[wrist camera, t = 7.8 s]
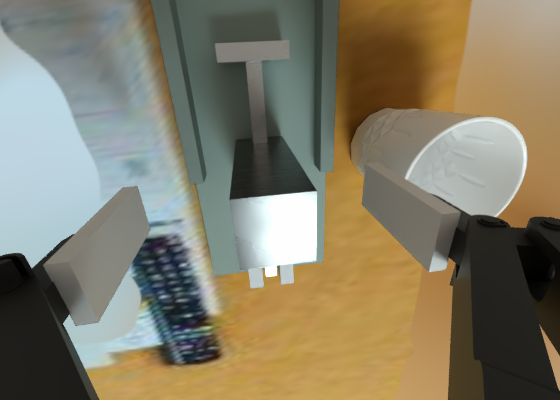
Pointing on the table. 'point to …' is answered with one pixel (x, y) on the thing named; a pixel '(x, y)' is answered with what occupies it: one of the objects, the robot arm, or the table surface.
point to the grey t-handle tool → (268, 177)
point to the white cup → (446, 155)
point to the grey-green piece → (235, 100)
